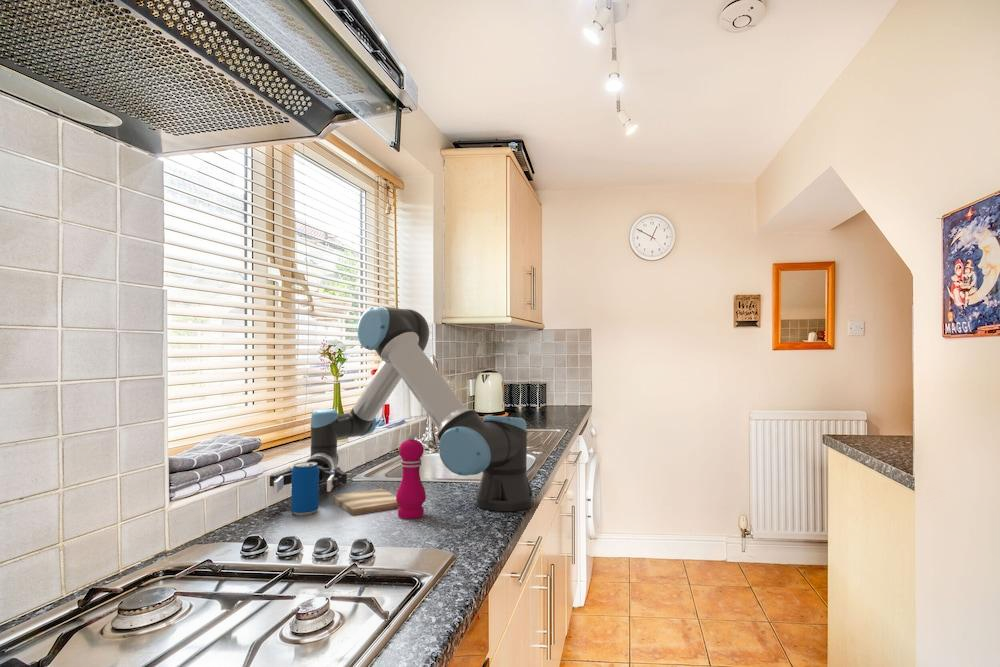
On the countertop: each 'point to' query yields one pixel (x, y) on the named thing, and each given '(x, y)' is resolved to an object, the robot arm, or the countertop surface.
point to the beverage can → (305, 488)
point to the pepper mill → (411, 480)
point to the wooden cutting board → (366, 501)
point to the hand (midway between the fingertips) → (302, 486)
